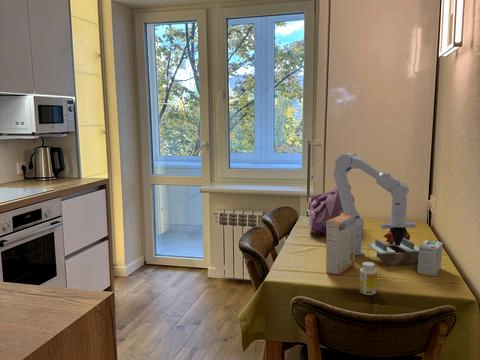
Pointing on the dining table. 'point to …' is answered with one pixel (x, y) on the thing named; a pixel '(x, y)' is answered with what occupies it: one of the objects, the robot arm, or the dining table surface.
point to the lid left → (381, 247)
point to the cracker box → (340, 244)
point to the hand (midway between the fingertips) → (397, 244)
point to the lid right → (407, 246)
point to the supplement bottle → (368, 278)
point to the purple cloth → (324, 210)
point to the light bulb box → (430, 257)
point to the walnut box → (399, 257)
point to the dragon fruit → (391, 239)
